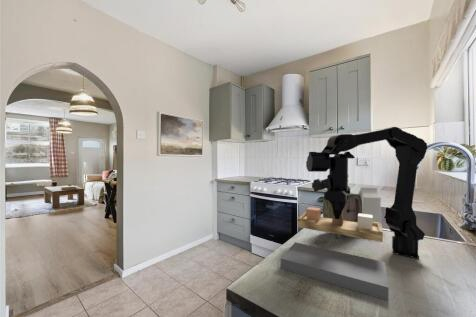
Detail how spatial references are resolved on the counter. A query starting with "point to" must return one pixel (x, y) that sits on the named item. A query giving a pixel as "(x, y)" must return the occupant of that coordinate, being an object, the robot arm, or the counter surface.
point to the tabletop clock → (345, 209)
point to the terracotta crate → (314, 214)
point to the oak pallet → (342, 227)
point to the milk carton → (371, 202)
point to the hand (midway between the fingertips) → (337, 217)
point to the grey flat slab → (338, 269)
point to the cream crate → (365, 221)
